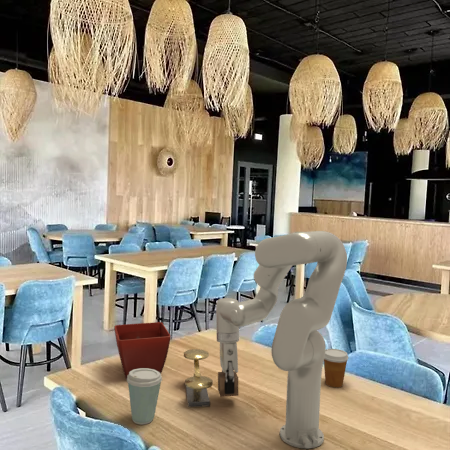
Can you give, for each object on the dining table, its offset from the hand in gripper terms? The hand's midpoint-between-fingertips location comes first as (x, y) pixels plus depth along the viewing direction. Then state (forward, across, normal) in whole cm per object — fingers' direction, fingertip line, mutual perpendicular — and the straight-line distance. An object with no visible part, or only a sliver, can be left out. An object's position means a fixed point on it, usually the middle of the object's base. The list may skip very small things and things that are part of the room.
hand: (227, 388), depth 148 cm
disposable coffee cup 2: (+6, +12, -42) cm, 44 cm away
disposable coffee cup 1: (+4, -9, +27) cm, 29 cm away
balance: (+4, +7, +10) cm, 13 cm away
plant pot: (+3, +27, +30) cm, 40 cm away
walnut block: (+1, 0, 0) cm, 1 cm away
